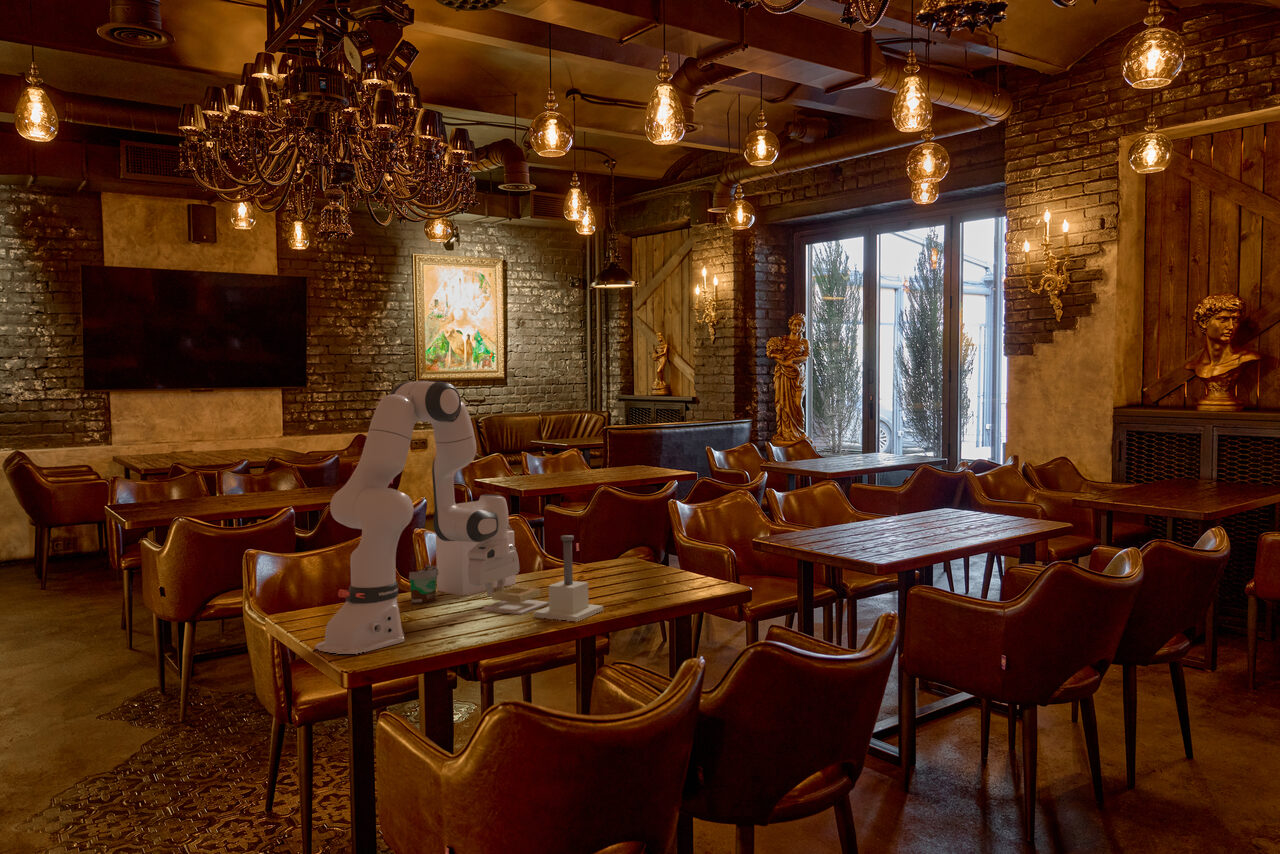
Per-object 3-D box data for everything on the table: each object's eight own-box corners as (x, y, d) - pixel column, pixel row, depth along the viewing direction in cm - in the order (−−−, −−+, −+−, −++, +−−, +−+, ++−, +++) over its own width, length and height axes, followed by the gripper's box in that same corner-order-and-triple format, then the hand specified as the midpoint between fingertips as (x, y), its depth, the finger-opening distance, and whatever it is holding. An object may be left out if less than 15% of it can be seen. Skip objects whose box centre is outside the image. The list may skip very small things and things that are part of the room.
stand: (576, 622, 244) (575, 541, 243) (534, 617, 251) (532, 538, 250) (603, 610, 257) (601, 533, 256) (562, 606, 263) (560, 531, 262)
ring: (520, 602, 257) (520, 595, 257) (478, 598, 264) (478, 591, 264) (540, 595, 266) (540, 588, 266) (499, 591, 273) (498, 584, 273)
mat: (521, 614, 254) (521, 612, 254) (482, 609, 261) (482, 607, 261) (549, 604, 266) (549, 602, 266) (511, 599, 273) (511, 597, 273)
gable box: (490, 579, 305) (488, 496, 304) (516, 584, 296) (514, 499, 295) (436, 591, 288) (433, 503, 287) (462, 596, 279) (459, 506, 278)
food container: (428, 606, 266) (428, 572, 266) (409, 606, 268) (408, 572, 267) (446, 597, 278) (445, 565, 278) (427, 596, 280) (426, 564, 279)
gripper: (506, 542, 277) (508, 587, 278) (463, 553, 259) (465, 601, 260) (523, 543, 274) (524, 588, 275) (481, 555, 256) (482, 603, 257)
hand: (495, 595), depth 267 cm, fingers closed on ring, 2 cm apart
